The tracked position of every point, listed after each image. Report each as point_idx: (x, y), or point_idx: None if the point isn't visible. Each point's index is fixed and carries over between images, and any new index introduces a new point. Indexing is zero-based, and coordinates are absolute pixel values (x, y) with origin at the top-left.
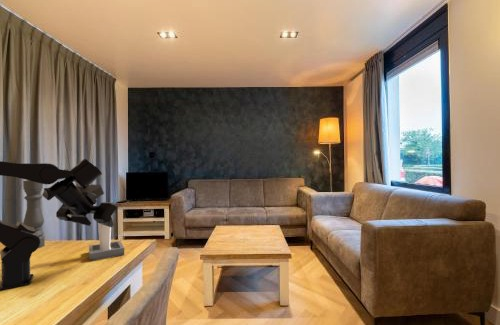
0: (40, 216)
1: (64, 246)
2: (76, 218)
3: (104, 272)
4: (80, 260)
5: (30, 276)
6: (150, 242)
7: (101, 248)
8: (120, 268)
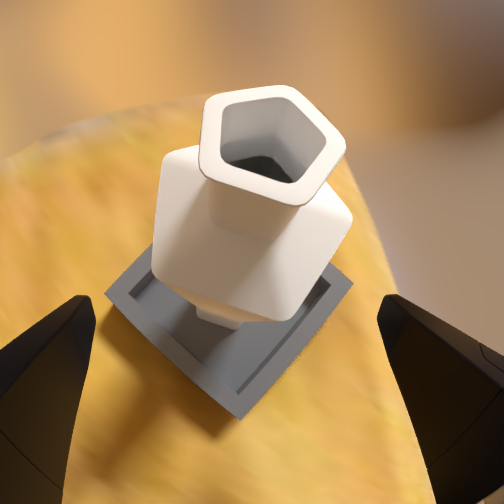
0: None
1: None
2: (40, 499)
3: (396, 467)
4: (174, 412)
5: None
6: None
7: (219, 317)
8: None
